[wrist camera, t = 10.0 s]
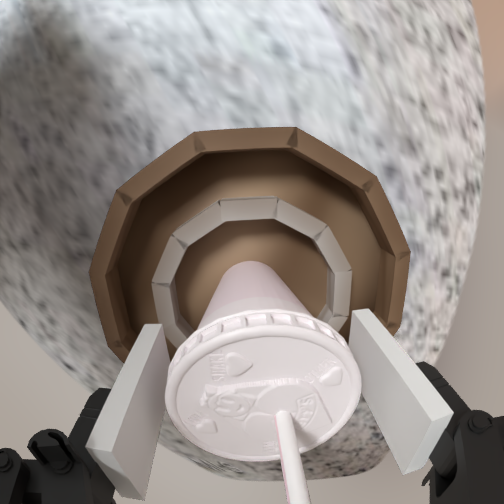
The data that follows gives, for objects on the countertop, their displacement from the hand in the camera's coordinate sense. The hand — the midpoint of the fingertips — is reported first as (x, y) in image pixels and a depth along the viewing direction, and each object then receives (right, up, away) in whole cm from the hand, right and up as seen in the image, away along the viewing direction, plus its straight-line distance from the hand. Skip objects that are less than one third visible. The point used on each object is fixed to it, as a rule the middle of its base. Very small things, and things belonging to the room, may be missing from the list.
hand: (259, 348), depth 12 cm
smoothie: (0, +2, +6) cm, 6 cm away
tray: (0, +2, +6) cm, 7 cm away
